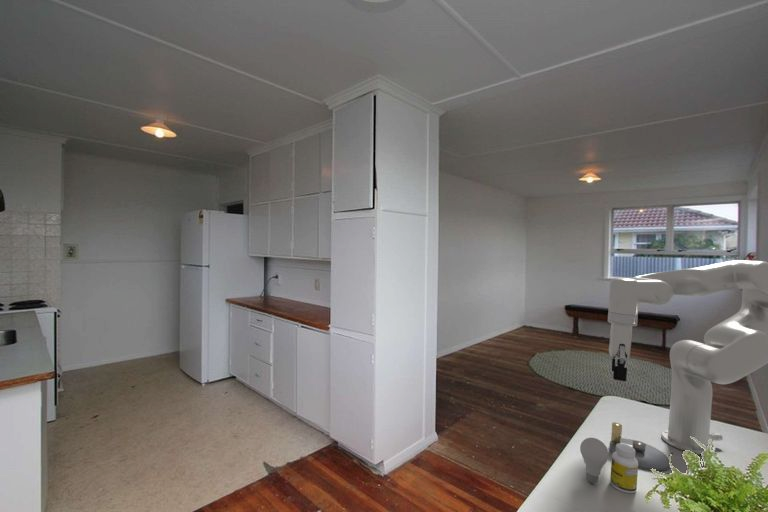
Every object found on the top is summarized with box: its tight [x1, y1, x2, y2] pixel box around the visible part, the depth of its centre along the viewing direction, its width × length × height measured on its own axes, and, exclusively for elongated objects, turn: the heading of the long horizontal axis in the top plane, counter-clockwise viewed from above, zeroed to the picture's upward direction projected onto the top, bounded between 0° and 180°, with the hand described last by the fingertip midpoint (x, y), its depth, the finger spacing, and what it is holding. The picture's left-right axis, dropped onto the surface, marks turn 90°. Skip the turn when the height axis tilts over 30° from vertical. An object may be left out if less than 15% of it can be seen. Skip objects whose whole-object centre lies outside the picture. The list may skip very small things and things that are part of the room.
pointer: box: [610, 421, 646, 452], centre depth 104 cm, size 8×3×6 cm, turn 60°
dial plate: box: [608, 437, 670, 472], centre depth 103 cm, size 14×14×2 cm
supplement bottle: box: [609, 443, 639, 494], centre depth 89 cm, size 5×5×10 cm
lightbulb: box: [579, 437, 610, 485], centre depth 89 cm, size 6×6×11 cm
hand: (618, 375), depth 110 cm, fingers open, 7 cm apart
